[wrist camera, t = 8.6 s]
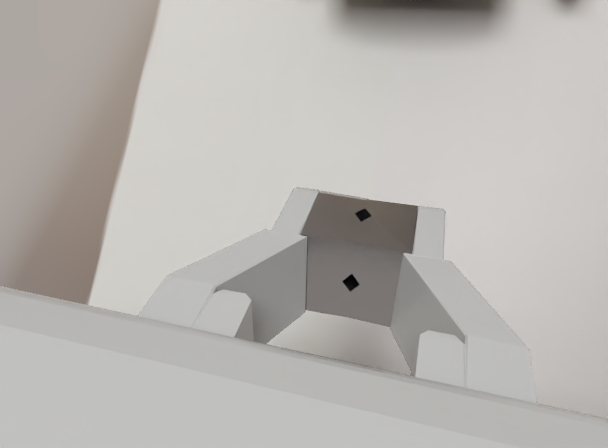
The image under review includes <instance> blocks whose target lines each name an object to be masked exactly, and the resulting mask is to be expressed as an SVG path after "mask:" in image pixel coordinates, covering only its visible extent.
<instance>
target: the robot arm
mask: <svg viewBox="0 0 608 448" xmlns="http://www.w3.org/2000/svg"><path fill="white" fill-rule="evenodd" d="M445 213H446V211H445V210H444V209H440V208H432V207H423V206H414V205H406V204H398V203H390V202H382V201H375V200H369V199H366V198H360V197H354V196H349V195H343V194H337V193H331V192H326V191H319V190H315V189H307V188H300V187H297V188H295V189H293V191H292V193H291V195H290V197H289V199H288V201H287V202H286V204H285V206H284V208H283V210H282V212H281V214H280V216H279V218H278V220H277V221H276V223H275V225H274V227H273V229H272V230H267V229H265V230H262V231H260V232H258V233H256V234H254V235H252V236H250V237H248V238H246V239H243V240H241V241H239V242H237V243H235V244H233V245H231V246H229V247H227V248H225V249H222V250H220V251H218V252H216V253H214V254H212V255H210V256H208V257H206V258H203V259H201V260H199V261H197V262H195V263H193V264H191V265H189V266H187V267H184V268H182V269H180V270H178V271H176V272H174V273H172V274H170V275H168V276H166V277H165V279H164V280H163V282H162V283H161V284H160V286H159V287H158V288H157V290H156V291H155V293H154V294H153V295H152V297H151V298H150V299H149V301H148V302H147V304H146V305H145V306H144V308H143V309H142V310H141V312H140V313H139V315H138V316H134V315H130V314H125V313H120V312H116V311H111V310H107V309H102V308H98V307H93V306H88V305H84V304H79V303H75V302H70V301H66V300H61V299H56V298H52V297H47V296H43V295H38V294H34V293H29V292H24V291H20V290H15V289H11V288H6V287H2V286H0V448H608V419H605V418H601V417H596V416H592V415H587V414H582V413H578V412H573V411H569V410H564V409H560V408H555V407H551V406H546V405H541V404H537V400H536V393H535V386H534V378H533V371H532V364H531V357H530V350H529V348H528V347H527V346H526V345H525V343H524V342H523V341H522V340H521V339H520V338H519V337H518V336H517V334H516V333H515V332H514V331H513V330H512V329H511V328H510V327H509V325H508V324H507V323H506V322H505V321H504V320H503V319H502V318H501V317H500V315H499V314H498V313H497V312H496V311H495V310H494V309H493V308H492V306H491V305H490V304H489V303H488V302H487V301H486V300H485V299H484V297H483V296H482V295H481V294H480V293H479V292H478V291H477V290H476V288H475V287H474V286H473V285H472V284H471V283H470V282H469V281H468V280H467V278H466V277H465V276H464V275H463V274H462V273H461V272H460V271H459V269H458V268H457V267H456V266H455V265H454V264H453V263H452V262H451V261H448V260H444V237H445ZM305 310H309V311H315V312H321V313H326V314H332V315H338V316H344V317H349V318H353V319H358V320H362V321H366V322H371V323H375V324H380V325H384V326H388V327H390V330H391V332H392V334H393V336H394V338H395V340H396V342H397V344H398V346H399V348H400V350H401V352H402V354H403V356H404V358H405V360H406V362H407V364H408V366H409V368H410V370H411V375H410V376H409V375H405V374H400V373H396V372H391V371H386V370H382V369H377V368H373V367H368V366H363V365H359V364H354V363H350V362H345V361H340V360H336V359H331V358H327V357H322V356H317V355H313V354H308V353H303V352H299V351H294V350H290V349H285V348H280V347H276V346H271V345H267V344H266V343H267V342H269V341H270V340H271V339H272V338H274V337H275V336H276V335H277V334H279V333H280V332H281V331H282V330H284V329H285V328H286V327H287V326H289V325H290V324H291V323H292V322H294V321H295V320H296V319H297V318H299V317H300V316H301V315H302V314H303V313H305Z"/></svg>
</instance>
